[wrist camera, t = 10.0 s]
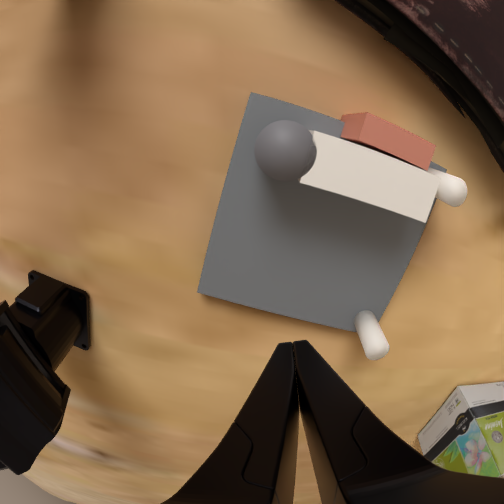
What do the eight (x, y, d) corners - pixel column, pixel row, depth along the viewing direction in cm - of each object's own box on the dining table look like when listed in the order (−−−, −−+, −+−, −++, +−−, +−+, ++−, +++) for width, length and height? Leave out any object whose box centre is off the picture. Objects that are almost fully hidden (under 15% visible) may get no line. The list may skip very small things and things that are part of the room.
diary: (382, -118, 7) (398, -145, 3) (568, 69, 12) (601, 70, 7) (259, -28, 13) (258, -67, 9) (508, 199, 18) (548, 217, 14)
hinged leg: (251, 163, 17) (247, 172, 14) (263, 116, 16) (262, 113, 13) (399, 207, 17) (424, 225, 14) (413, 165, 16) (441, 175, 13)
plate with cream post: (366, 325, 22) (384, 367, 18) (200, 283, 22) (185, 323, 17) (440, 160, 17) (481, 172, 13) (254, 86, 16) (250, 73, 12)
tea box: (413, 436, 29) (442, 532, 16) (456, 382, 25) (508, 489, 12) (486, 424, 30) (519, 496, 16) (525, 375, 26) (571, 450, 12)
